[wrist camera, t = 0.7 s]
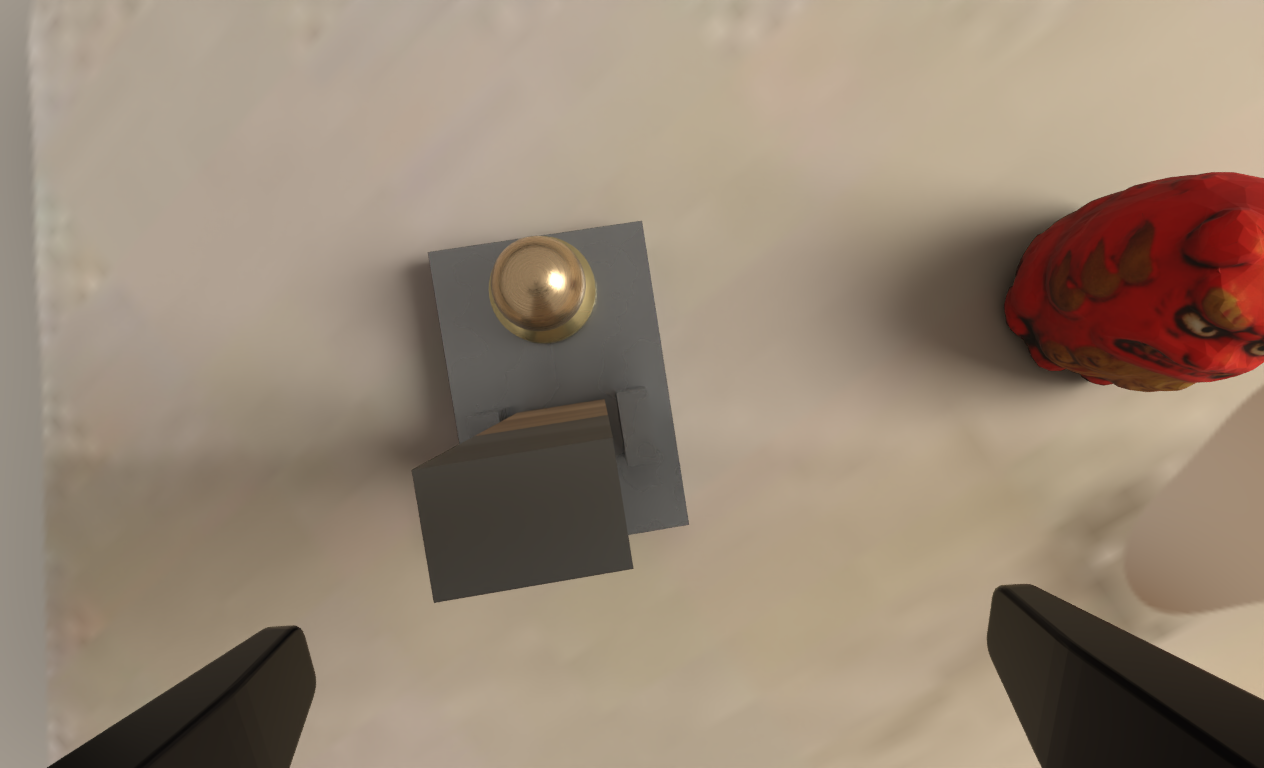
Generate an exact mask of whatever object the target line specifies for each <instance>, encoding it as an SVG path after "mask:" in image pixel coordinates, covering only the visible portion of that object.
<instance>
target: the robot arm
mask: <svg viewBox="0 0 1264 768" xmlns="http://www.w3.org/2000/svg"><path fill="white" fill-rule="evenodd" d="M987 646H988V651H989V654H990V657H991V660H992V662H993V664H994V666H995V668H996V670H997V673H998V675H999V677H1000V679H1001V681H1002V683H1003V686H1004V688H1005V690H1006V692H1007V694H1008V697H1009V699H1010V701H1011V703H1012V705H1013V707H1014V710H1015V712H1016V714H1017V716H1018V718H1019V720H1020V723H1021V725H1022V727H1023V729H1024V731H1025V733H1026V736H1027V738H1028V740H1029V742H1030V744H1031V746H1032V749H1033V751H1034V753H1035V755H1036V757H1037V759H1038V761H1039V763H1040V765H1041V767H1042V768H1264V700H1263V699H1261V698H1259V697H1257V696H1255V695H1253V694H1251V693H1249V692H1247V691H1245V690H1243V689H1241V688H1239V687H1237V686H1235V685H1233V684H1231V683H1229V682H1227V681H1225V680H1223V679H1221V678H1219V677H1217V676H1215V675H1213V674H1211V673H1209V672H1207V671H1205V670H1203V669H1201V668H1199V667H1197V666H1195V665H1193V664H1191V663H1189V662H1187V661H1185V660H1183V659H1181V658H1179V657H1177V656H1174V655H1172V654H1170V653H1168V652H1166V651H1164V650H1162V649H1160V648H1158V647H1156V646H1154V645H1152V644H1150V643H1148V642H1146V641H1144V640H1142V639H1140V638H1138V637H1136V636H1134V635H1132V634H1130V633H1128V632H1126V631H1124V630H1122V629H1120V628H1118V627H1116V626H1114V625H1112V624H1110V623H1108V622H1106V621H1104V620H1102V619H1100V618H1098V617H1096V616H1094V615H1092V614H1090V613H1088V612H1086V611H1084V610H1082V609H1080V608H1078V607H1076V606H1074V605H1072V604H1070V603H1068V602H1066V601H1064V600H1062V599H1060V598H1058V597H1056V596H1054V595H1052V594H1050V593H1048V592H1046V591H1044V590H1042V589H1040V588H1038V587H1036V586H1034V585H1031V584H1013V585H1001V586H999V587H997V588H996V589H995V591H994V592H993V596H992V603H991V610H990V617H989V624H988V631H987ZM315 688H316V676H315V671H314V667H313V664H312V660H311V656H310V653H309V649H308V645H307V642H306V638H305V635H304V633H303V631H302V630H301V628H299V627H297V626H294V625H293V626H276V627H268V628H265V629H263V630H261V631H260V632H258V633H256V634H255V635H253V636H252V637H250V638H249V639H247V640H246V641H244V642H242V643H241V644H239V645H238V646H236V647H235V648H233V649H231V650H230V651H228V652H227V653H225V654H224V655H222V656H221V657H219V658H217V659H216V660H214V661H213V662H211V663H210V664H208V665H206V666H205V667H203V668H202V669H200V670H199V671H197V672H196V673H194V674H192V675H191V676H189V677H188V678H186V679H185V680H183V681H182V682H180V683H178V684H177V685H175V686H174V687H172V688H171V689H169V690H167V691H166V692H164V693H163V694H161V695H160V696H158V697H157V698H155V699H153V700H152V701H150V702H149V703H147V704H146V705H144V706H142V707H141V708H139V709H138V710H136V711H135V712H133V713H132V714H130V715H128V716H127V717H125V718H124V719H122V720H121V721H119V722H118V723H116V724H114V725H113V726H111V727H110V728H108V729H107V730H105V731H103V732H102V733H100V734H99V735H97V736H96V737H94V738H93V739H91V740H89V741H88V742H86V743H85V744H83V745H82V746H80V747H78V748H77V749H75V750H74V751H72V752H71V753H69V754H68V755H66V756H64V757H63V758H61V759H60V760H58V761H57V762H55V763H53V764H52V765H50V766H49V767H47V768H290V765H291V762H292V759H293V756H294V753H295V750H296V747H297V744H298V741H299V738H300V736H301V733H302V730H303V727H304V724H305V721H306V718H307V715H308V712H309V709H310V706H311V703H312V700H313V697H314V693H315Z"/></svg>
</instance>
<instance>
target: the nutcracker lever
mask: <svg viewBox="0 0 1264 768" xmlns="http://www.w3.org/2000/svg"><path fill="white" fill-rule="evenodd" d="M412 475H413V481H414V487H415V493H416V499H417V505H418V511H419V517H420V523H421V529H422V535H423V541H424V547H425V553H426V559H427V565H428V571H429V577H430V583H431V589H432V594H433V600H434V603H436V602H442V601H447V600H453V599H459V598H465V597H471V596H477V595H483V594H488V593H494V592H500V591H506V590H512V589H518V588H523V587H529V586H535V585H541V584H547V583H553V582H559V581H564V580H570V579H576V578H582V577H588V576H594V575H600V574H605V573H611V572H617V571H623V570H629V569H633V563H632V557H631V551H630V544H629V538H628V532H627V525H626V519H625V513H624V506H623V500H622V494H621V487H620V481H619V475H618V468H617V462H616V456H615V449H614V443H613V437H612V432H611V427H610V423H609V418H608V413H607V408H606V404H605V399H601V400H595V401H588V402H582V403H576V404H569V405H563V406H557V407H551V408H544V409H538V410H532V411H525V412H519V413H516V414H514V415H512V416H510V417H509V418H507V419H505V420H503V421H501V422H499V423H498V424H496V425H494V426H492V427H490V428H488V429H487V430H485V431H483V432H481V433H479V434H477V435H475V436H474V437H472V438H470V439H468V440H466V441H464V442H463V443H461V444H459V445H457V446H455V447H453V448H452V449H450V450H448V451H446V452H444V453H442V454H441V455H439V456H437V457H435V458H433V459H431V460H430V461H428V462H426V463H424V464H422V465H420V466H419V467H417V468H415V469H413V470H412Z"/></svg>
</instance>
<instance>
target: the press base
mask: <svg viewBox="0 0 1264 768" xmlns="http://www.w3.org/2000/svg"><path fill="white" fill-rule="evenodd" d="M428 256H429V262H430V268H431V274H432V280H433V287H434V293H435V299H436V305H437V311H438V317H439V323H440V329H441V335H442V341H443V347H444V353H445V359H446V365H447V371H448V377H449V384H450V390H451V396H452V402H453V408H454V414H455V420H456V426H457V432H458V438H459V444H461V443H463V442H464V441H466V440H468V439H470V438H472V437H474V436H475V435H477V434H479V433H481V432H483V431H485V430H487V429H488V428H490V427H492V426H494V425H496V424H498V423H499V422H501V421H503V420H505V419H507V418H509V417H510V416H512V415H514V414H516V413H519V412H525V411H532V410H538V409H544V408H551V407H557V406H563V405H569V404H576V403H582V402H588V401H595V400H601V399H605V404H606V408H607V413H608V418H609V423H610V427H611V432H612V437H613V443H614V449H615V456H616V462H617V468H618V475H619V481H620V487H621V494H622V500H623V506H624V513H625V519H626V525H627V532H628V535H631V534H637V533H642V532H648V531H654V530H660V529H666V528H672V527H678V526H684V525H689V521H688V515H687V508H686V502H685V495H684V489H683V482H682V476H681V470H680V463H679V457H678V450H677V444H676V437H675V431H674V424H673V418H672V412H671V405H670V399H669V392H668V386H667V379H666V373H665V366H664V360H663V354H662V347H661V341H660V334H659V328H658V321H657V315H656V308H655V302H654V296H653V289H652V283H651V276H650V270H649V263H648V257H647V250H646V244H645V238H644V231H643V225H642V221H637V222H630V223H624V224H617V225H610V226H603V227H596V228H590V229H583V230H576V231H569V232H562V233H556V234H549V235H542V236H531V237H526V238H522V239H515V240H508V241H501V242H494V243H488V244H481V245H474V246H467V247H461V248H454V249H447V250H440V251H433V252H428Z"/></svg>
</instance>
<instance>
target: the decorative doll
mask: <svg viewBox="0 0 1264 768" xmlns="http://www.w3.org/2000/svg"><path fill="white" fill-rule="evenodd" d="M1004 310H1005V315H1006V323H1007V325H1008V326H1009V327H1010V329H1011V330H1012V331H1013V332H1014V333H1015V334H1016V335H1018V336H1019V337H1021V338H1022V339H1024V341H1025V343H1026V344H1027V346H1028V349H1029V352H1030V354H1031V357H1032V358H1033V359H1034V361H1035V362H1036V363H1037V365H1038V366H1039V367H1042V368H1044V369H1047V370H1049V371H1061V370H1064V369H1068V370H1070V371H1072V372H1075V373H1079V374H1081V376H1082V377H1083V378H1084V379H1086V380H1087V381H1089V382H1092V383H1095V384H1099V385H1109V384H1115V385H1116V386H1118V387H1121V388H1125V389H1128V390H1135V391H1143V392H1154V391H1178V390H1182V389H1185V388H1187V387H1189V386H1191V385H1193V384H1195V383H1197V382H1212V381H1217V380H1222V379H1227V378H1231V377H1235V376H1238V375H1241V374H1243V373H1246V372H1249V371H1251V370H1254V369H1255V368H1256V367H1258V366H1259V365H1261V364H1262V363H1263V362H1264V178H1260V177H1255V176H1249V175H1244V174H1239V173H1234V172H1211V173H1205V174H1199V175H1187V176H1178V177H1170V178H1165V179H1160V180H1156V181H1152V182H1147V183H1143V184H1139V185H1135V186H1132V187H1130V188H1128V189H1126V190H1124V191H1120V192H1117V193H1114V194H1111V195H1107V196H1104V197H1101V198H1099V199H1096V200H1093V201H1091V202H1089V203H1087V204H1086V205H1084V206H1083V207H1081V208H1080V209H1078V210H1077V211H1075V212H1073V213H1071V214H1069V215H1067V216H1065V217H1063V218H1062V219H1060V220H1058V221H1057V222H1056V223H1054V224H1053V225H1052V226H1051V227H1050V228H1048V229H1047V230H1046V231H1045V232H1043V233H1042V234H1039V235H1037V236H1036V238H1035V239H1034V240H1033V241H1032V242H1031V244H1030V245H1029V247H1028V248H1027V250H1026V251H1025V253H1024V255H1023V257H1022V259H1021V261H1020V263H1019V265H1018V268H1017V270H1016V277H1015V280H1014V284H1013V286H1012V287H1010V288H1009V290H1008V293H1007V296H1006V300H1005V304H1004Z"/></svg>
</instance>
